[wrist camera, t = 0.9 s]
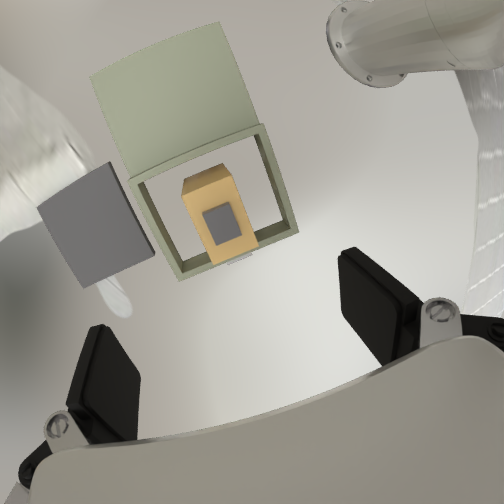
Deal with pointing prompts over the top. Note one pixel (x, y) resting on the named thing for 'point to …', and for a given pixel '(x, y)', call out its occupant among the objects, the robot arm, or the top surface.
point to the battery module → (218, 213)
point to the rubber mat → (96, 226)
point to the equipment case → (184, 124)
